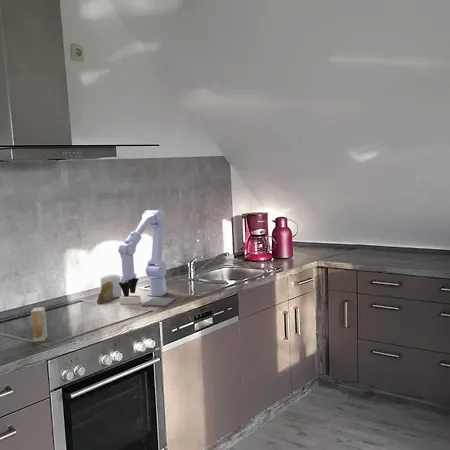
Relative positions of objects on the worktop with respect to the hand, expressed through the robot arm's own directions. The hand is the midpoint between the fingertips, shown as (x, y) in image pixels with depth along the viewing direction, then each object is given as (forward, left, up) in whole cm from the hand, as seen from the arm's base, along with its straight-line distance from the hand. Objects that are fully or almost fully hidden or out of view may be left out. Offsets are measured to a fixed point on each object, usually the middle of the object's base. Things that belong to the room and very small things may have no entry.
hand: (129, 294), depth 280 cm
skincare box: (+62, -11, -4) cm, 63 cm away
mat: (0, +15, -4) cm, 16 cm away
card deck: (0, 0, -4) cm, 4 cm away
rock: (-3, -15, -4) cm, 16 cm away
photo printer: (-11, -15, -4) cm, 19 cm away
